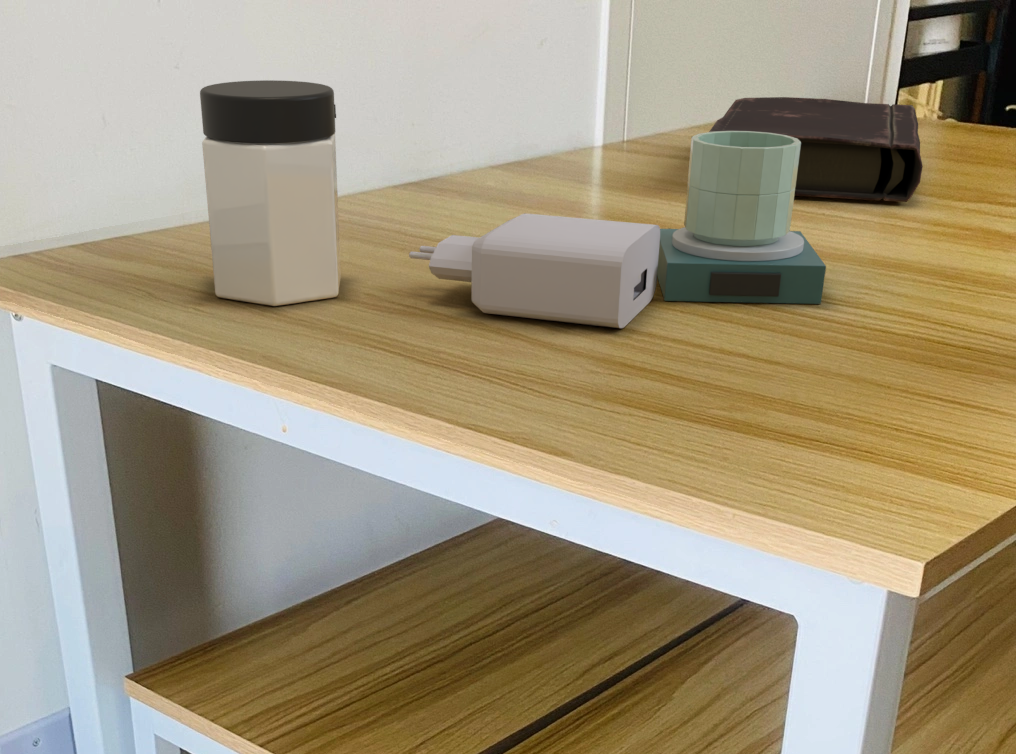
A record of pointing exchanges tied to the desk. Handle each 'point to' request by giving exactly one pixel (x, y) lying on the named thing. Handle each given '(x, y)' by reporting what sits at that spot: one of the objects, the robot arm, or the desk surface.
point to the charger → (555, 268)
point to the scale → (739, 270)
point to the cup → (741, 187)
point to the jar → (272, 190)
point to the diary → (840, 144)
